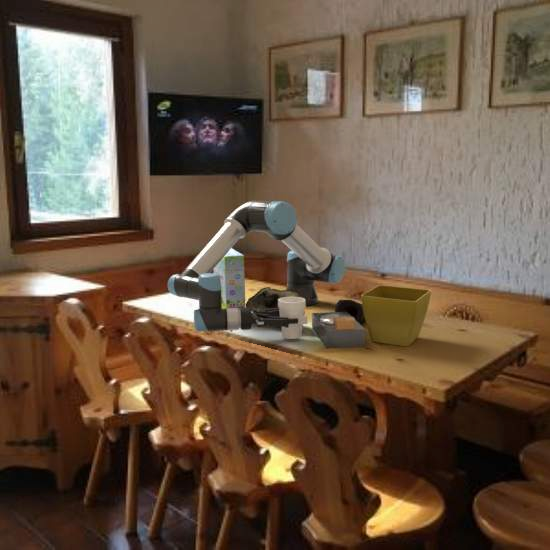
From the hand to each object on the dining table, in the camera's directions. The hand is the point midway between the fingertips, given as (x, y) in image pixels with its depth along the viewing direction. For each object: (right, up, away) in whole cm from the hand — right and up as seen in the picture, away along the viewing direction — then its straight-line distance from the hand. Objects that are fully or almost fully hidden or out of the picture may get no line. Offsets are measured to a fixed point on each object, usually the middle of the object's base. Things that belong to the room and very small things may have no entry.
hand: (304, 316), depth 212 cm
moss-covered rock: (-9, -5, +22) cm, 24 cm away
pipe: (+19, -4, +26) cm, 33 cm away
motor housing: (+12, -8, +3) cm, 14 cm away
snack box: (-29, -2, +36) cm, 46 cm away
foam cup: (-4, -7, +1) cm, 8 cm away
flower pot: (+31, -8, 0) cm, 32 cm away
